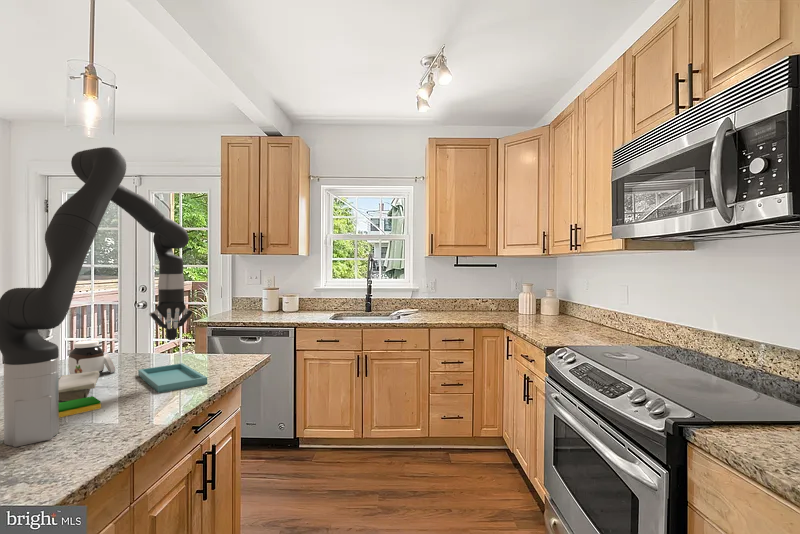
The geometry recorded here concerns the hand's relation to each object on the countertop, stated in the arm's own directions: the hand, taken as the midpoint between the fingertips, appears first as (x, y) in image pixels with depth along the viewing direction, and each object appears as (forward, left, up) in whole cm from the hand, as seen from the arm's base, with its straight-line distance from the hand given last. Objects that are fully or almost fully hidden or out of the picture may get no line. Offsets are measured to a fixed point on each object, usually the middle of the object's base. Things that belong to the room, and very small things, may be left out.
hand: (171, 339), depth 141 cm
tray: (0, 0, -13) cm, 13 cm away
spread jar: (+25, +18, -14) cm, 34 cm away
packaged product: (0, +20, -11) cm, 23 cm away
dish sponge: (-15, +29, -14) cm, 36 cm away
